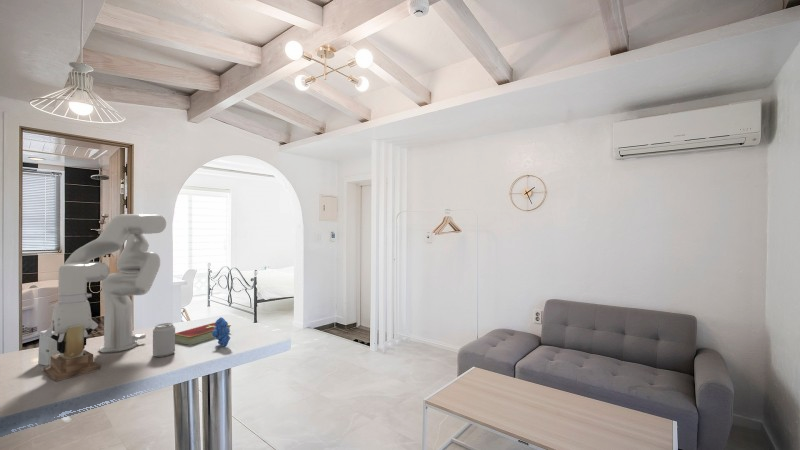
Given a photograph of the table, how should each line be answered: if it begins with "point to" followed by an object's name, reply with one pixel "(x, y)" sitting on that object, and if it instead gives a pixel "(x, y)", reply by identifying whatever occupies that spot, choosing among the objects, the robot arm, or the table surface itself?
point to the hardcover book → (196, 334)
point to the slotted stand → (70, 366)
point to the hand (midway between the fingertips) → (71, 349)
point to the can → (163, 339)
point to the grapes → (221, 332)
